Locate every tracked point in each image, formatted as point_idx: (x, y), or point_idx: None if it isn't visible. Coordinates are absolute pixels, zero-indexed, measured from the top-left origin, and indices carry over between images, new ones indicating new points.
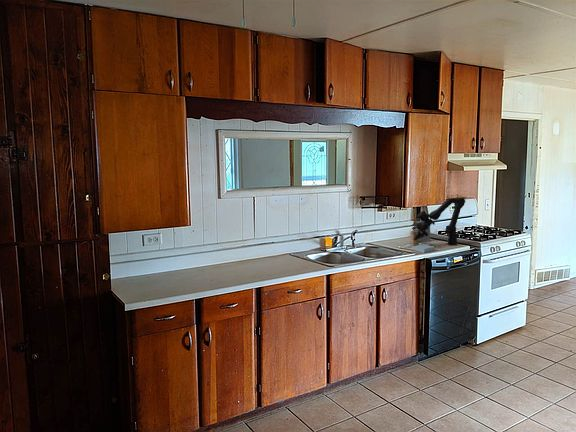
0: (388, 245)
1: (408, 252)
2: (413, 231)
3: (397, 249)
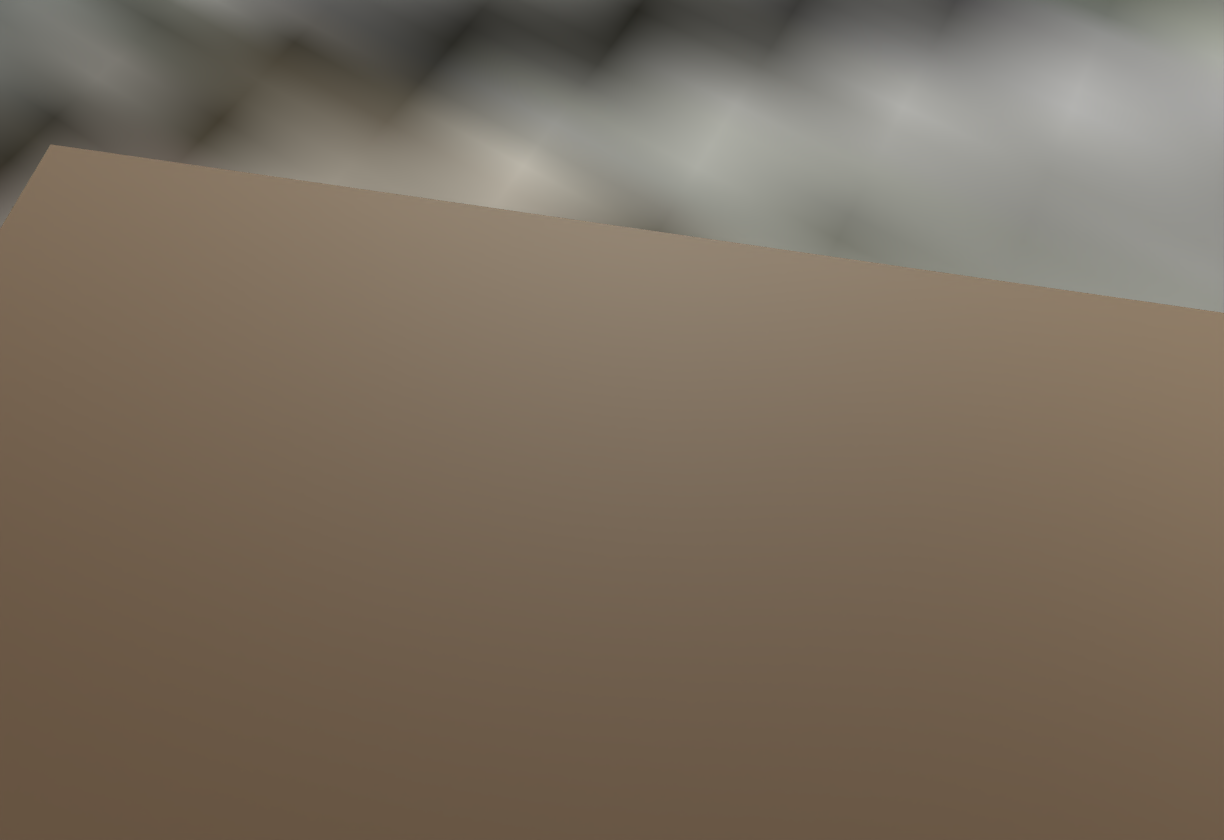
0: (1213, 173)
1: (18, 136)
2: (616, 589)
3: (556, 102)
